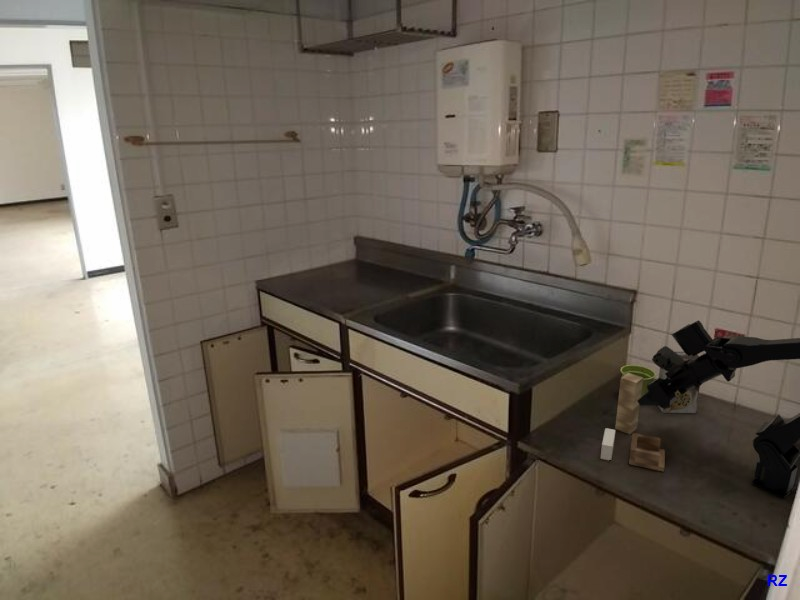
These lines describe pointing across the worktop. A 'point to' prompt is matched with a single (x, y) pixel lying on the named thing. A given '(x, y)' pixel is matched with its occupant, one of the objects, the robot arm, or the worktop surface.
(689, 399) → the coffee box
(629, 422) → the oak peg
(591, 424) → the worktop surface
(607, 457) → the white rectangular block
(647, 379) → the plant pot
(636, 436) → the walnut cradle
